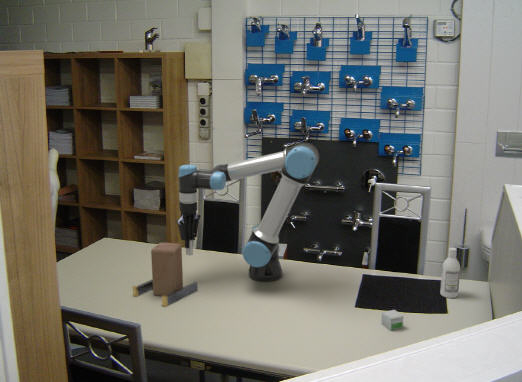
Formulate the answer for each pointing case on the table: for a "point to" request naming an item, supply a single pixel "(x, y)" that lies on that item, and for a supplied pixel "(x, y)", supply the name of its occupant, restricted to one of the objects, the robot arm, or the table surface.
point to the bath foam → (450, 275)
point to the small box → (392, 320)
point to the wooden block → (166, 268)
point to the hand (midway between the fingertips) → (189, 254)
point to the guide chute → (170, 297)
